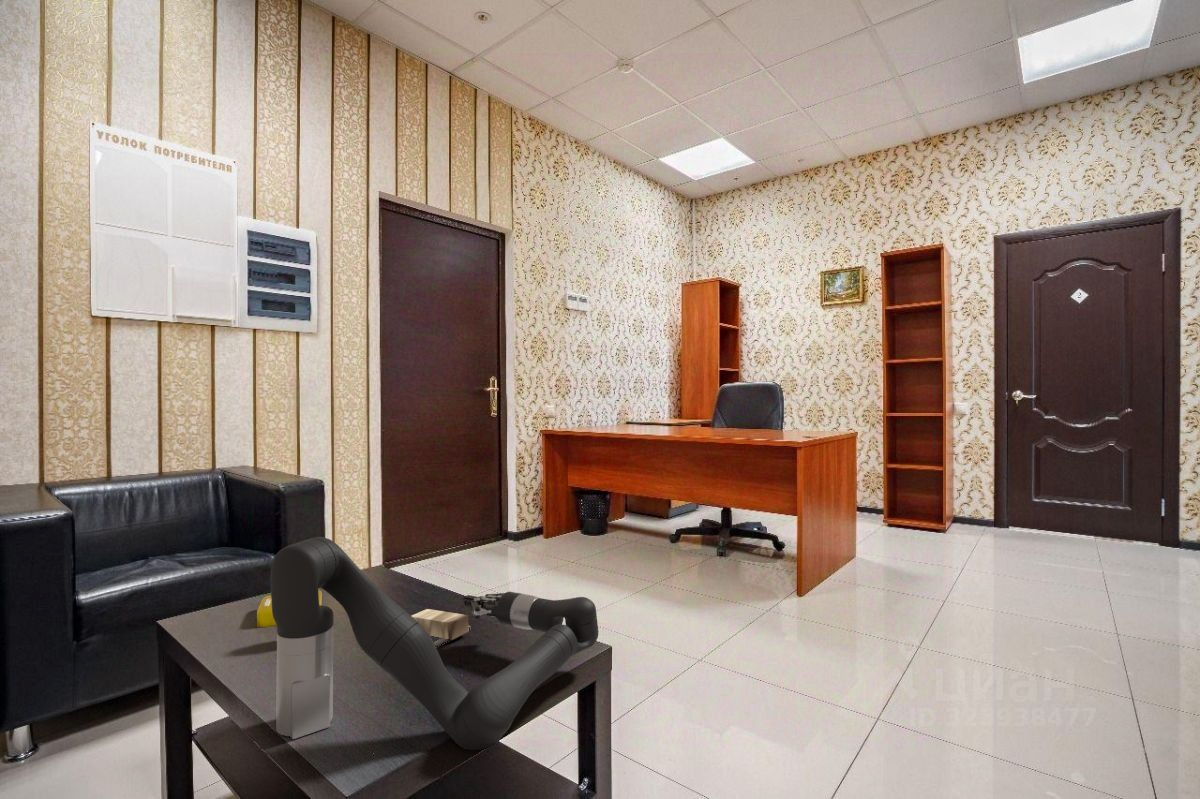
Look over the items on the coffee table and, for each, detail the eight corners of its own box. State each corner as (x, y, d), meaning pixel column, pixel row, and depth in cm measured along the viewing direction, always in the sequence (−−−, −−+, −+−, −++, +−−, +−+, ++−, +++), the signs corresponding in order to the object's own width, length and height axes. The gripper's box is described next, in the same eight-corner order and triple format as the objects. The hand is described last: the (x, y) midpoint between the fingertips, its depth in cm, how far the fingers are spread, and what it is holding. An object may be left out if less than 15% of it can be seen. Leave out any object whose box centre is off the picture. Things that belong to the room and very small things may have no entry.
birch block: (468, 615, 144) (427, 608, 151) (451, 623, 139) (409, 616, 145) (468, 631, 144) (427, 624, 150) (452, 639, 139) (410, 632, 145)
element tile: (263, 610, 162) (263, 593, 162) (321, 603, 168) (322, 587, 168) (255, 629, 148) (255, 611, 148) (319, 621, 154) (319, 603, 154)
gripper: (503, 637, 128) (446, 624, 136) (537, 617, 139) (482, 606, 148) (503, 603, 128) (445, 592, 136) (537, 586, 139) (482, 577, 148)
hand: (465, 600), depth 142 cm, fingers closed
